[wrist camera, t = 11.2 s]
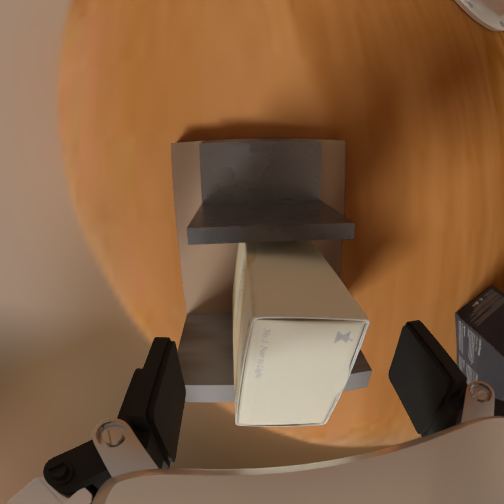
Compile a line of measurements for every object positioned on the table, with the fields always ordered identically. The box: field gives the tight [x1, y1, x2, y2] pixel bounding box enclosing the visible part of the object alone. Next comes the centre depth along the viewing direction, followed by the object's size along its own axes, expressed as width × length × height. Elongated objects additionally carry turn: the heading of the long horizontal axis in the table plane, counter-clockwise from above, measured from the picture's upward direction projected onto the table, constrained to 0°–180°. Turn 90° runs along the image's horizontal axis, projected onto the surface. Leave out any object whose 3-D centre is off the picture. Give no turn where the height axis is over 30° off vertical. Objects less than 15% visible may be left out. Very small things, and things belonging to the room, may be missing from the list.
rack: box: [171, 138, 372, 402], centre depth 18 cm, size 12×16×10 cm
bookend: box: [187, 141, 355, 245], centre depth 16 cm, size 8×5×7 cm, turn 91°
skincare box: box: [233, 240, 370, 427], centre depth 16 cm, size 6×4×12 cm
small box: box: [455, 286, 504, 401], centre depth 23 cm, size 13×7×12 cm, turn 27°
